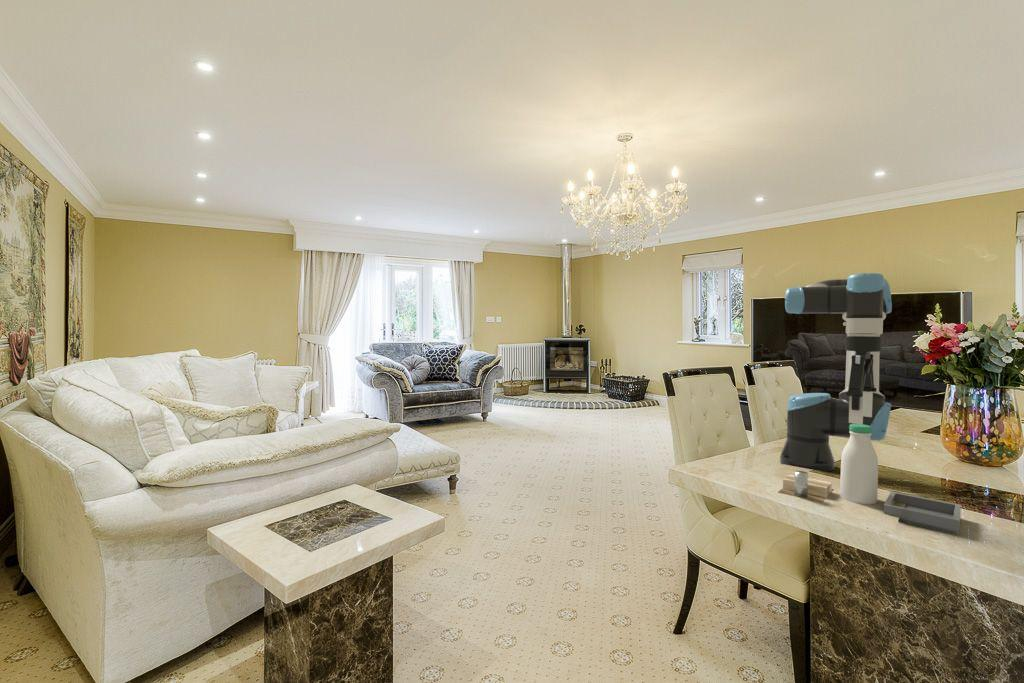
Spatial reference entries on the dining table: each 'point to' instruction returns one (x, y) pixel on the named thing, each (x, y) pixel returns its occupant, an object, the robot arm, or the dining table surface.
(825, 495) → the light wooden block
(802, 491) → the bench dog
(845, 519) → the dining table surface
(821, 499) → the board
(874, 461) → the milk bottle
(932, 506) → the tray
